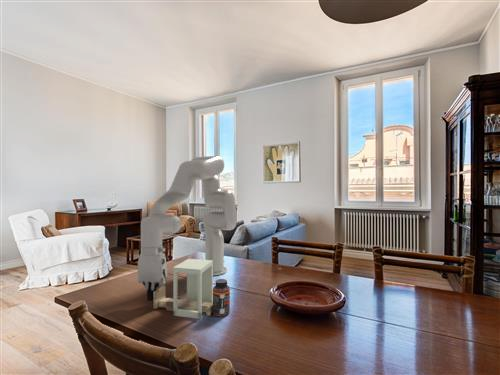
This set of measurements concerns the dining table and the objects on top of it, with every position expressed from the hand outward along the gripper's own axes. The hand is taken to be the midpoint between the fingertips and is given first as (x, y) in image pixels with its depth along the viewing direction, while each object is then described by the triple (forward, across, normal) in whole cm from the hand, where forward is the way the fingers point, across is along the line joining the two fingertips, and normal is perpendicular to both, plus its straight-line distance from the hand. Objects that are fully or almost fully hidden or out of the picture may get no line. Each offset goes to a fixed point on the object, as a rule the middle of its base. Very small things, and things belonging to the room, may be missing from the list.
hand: (151, 299), depth 98 cm
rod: (+2, -13, 0) cm, 14 cm away
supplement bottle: (+2, -27, 0) cm, 27 cm away
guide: (+2, -9, 0) cm, 9 cm away
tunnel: (+2, -17, 0) cm, 17 cm away
